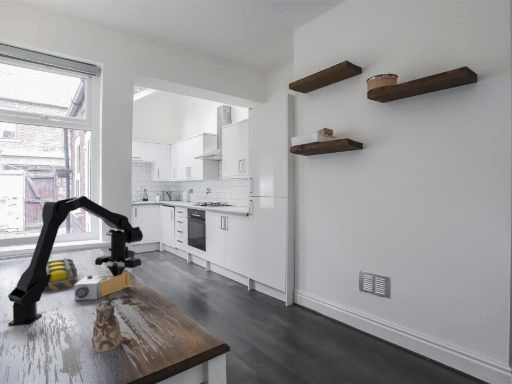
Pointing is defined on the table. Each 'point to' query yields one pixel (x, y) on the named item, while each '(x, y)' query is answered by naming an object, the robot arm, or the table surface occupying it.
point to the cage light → (61, 274)
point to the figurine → (106, 328)
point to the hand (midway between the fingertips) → (117, 281)
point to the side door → (113, 284)
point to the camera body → (87, 287)
